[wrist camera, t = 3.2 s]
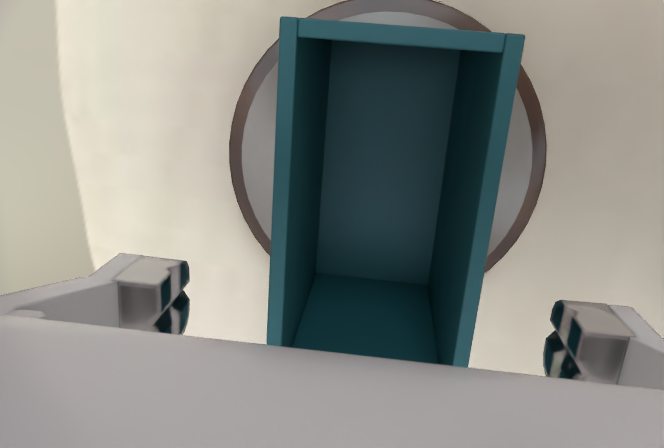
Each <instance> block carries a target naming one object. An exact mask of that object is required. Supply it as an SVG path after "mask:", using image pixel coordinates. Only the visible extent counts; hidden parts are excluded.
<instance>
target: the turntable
mask: <svg viewBox="0 0 664 448" xmlns="http://www.w3.org/2000/svg"><path fill="white" fill-rule="evenodd" d="M307 18H310V19H323V20H336V21H350V22H363V23H376V24H389V25H403V26H416V27H429V28H443V29H456V30H469V31H482V32H491V31H490V30H489V29H488V28H486V27H485V26H483V25H482V24H481V23H479V22H478V21H476V20H475V19H473V18H472V17H470V16H468V15H466V14H464V13H462V12H460V11H458V10H456V9H455V8H453V7H450V6H447V5H444V4H441V3H438V2H435V1H432V0H347V1H343V2H340V3H337V4H334V5H332V6H329V7H327V8H324V9H321V10H319V11H318V12H316V13H314V14H312V15H310V16H309V17H307ZM278 55H279V39H278V40H277V41H276V42H275V43H274V44H273V45H272V46H271V47H270V48H269V49H268V50H267V51H266V53H265V54H264V55H263V57H262V58H261V59H260V60H259V62H258V63H257V64H256V66H255V67H254V69H253V71H252V73H251V74H250V76H249V78H248V80H247V81H246V83H245V85H244V87H243V90H242V92H241V95H240V97H239V100H238V102H237V105H236V109H235V113H234V117H233V121H232V126H231V134H230V142H229V160H230V170H231V177H232V184H233V187H234V191H235V195H236V198H237V202H238V204H239V207H240V209H241V212H242V214H243V216H244V219H245V221H246V222H247V224H248V226H249V228H250V229H251V231H252V233H253V235H254V236H255V238H256V239H257V240H258V242H259V243H260V244H261V246H262V247H263V248H264V250H265V251H266V252H267V253H268V254H269V255H270V250H271V225H272V201H273V177H274V152H275V128H276V104H277V79H278ZM545 167H546V134H545V124H544V120H543V116H542V111H541V107H540V103H539V100H538V98H537V95H536V93H535V90H534V88H533V85H532V83H531V81H530V79H529V78H528V76H527V74H526V72H525V71H524V69H523V67H522V65H521V64H520V69H519V75H518V80H517V86H516V92H515V98H514V103H513V109H512V115H511V121H510V126H509V132H508V138H507V144H506V149H505V155H504V161H503V167H502V173H501V178H500V184H499V190H498V196H497V201H496V207H495V213H494V219H493V224H492V230H491V236H490V242H489V247H488V253H487V259H486V265H485V271H484V273H485V272H487V271H488V270H489V269H490V268H492V267H493V266H494V265H495V264H496V263H497V262H498V261H499V260H500V259H501V258H502V257H503V256H504V255H505V254H506V253H507V252H508V250H509V249H510V248H511V247H512V246H513V244H514V243H515V242H516V241H517V239H518V238H519V236H520V234H521V233H522V231H523V230H524V228H525V227H526V225H527V223H528V221H529V219H530V217H531V215H532V213H533V211H534V208H535V206H536V204H537V200H538V197H539V194H540V191H541V188H542V184H543V178H544V172H545Z"/></svg>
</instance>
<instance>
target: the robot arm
mask: <svg viewBox="0 0 664 448" xmlns="http://www.w3.org/2000/svg"><path fill="white" fill-rule="evenodd" d="M188 282H189V266H188V263H187V261H182V260H173V259H165V258H157V257H149V256H143V255H137V254H126V253H119V254H118V255H117V256H115V257H114V258H113V259H111V260H110V261H109V262H107V263H106V264H105V265H103V266H102V267H101V268H99V269H98V270H97V271H95V272H94V273H93V274H91V275H90V276H89V277H88V278H82V277H79V278H75V279H70V280H66V281H62V282H57V283H53V284H49V285H44V286H40V287H35V288H32V289H27V290H22V291H18V292H14V293H9V294H6V295H1V296H0V448H664V340H663V339H662V338H661V337H660V335H659V334H658V333H657V332H656V331H655V330H654V329H653V328H652V327H651V326H650V325H649V324H648V323H647V322H646V321H645V320H644V319H643V318H642V317H641V316H640V315H639V314H638V313H637V312H636V311H635V310H634V309H633V308H632V307H629V306H619V305H607V304H603V303H591V302H579V301H567V300H559V301H557V302H555V305H554V307H553V309H552V313H551V318H550V321H551V323H552V325H553V327H554V329H555V331H554V332H553V333H552V334H551V335H549V336H548V337H547V338H546V341H545V347H544V352H543V366H544V371H545V374H546V376H537V375H529V374H520V373H511V372H502V371H494V370H485V369H476V368H467V367H458V366H450V365H441V364H432V363H423V362H414V361H406V360H397V359H388V358H379V357H371V356H362V355H353V354H344V353H335V352H327V351H318V350H309V349H300V348H291V347H283V346H274V345H265V344H256V343H247V342H239V341H230V340H221V339H212V338H204V337H195V336H186V335H183V333H184V332H185V328H186V325H187V322H188V317H189V305H190V299H189V298H188V296H187V295H186V294H185V292H184V291H183V289H184V287H185V286H186V285H187V284H188Z"/></svg>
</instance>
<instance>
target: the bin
mask: <svg viewBox="0 0 664 448" xmlns="http://www.w3.org/2000/svg"><path fill="white" fill-rule="evenodd" d="M524 40H525V35H522V34H509V33H508V34H504V33H496V32H482V31H469V30H456V29H443V28H429V27H416V26H403V25H389V24H376V23H363V22H350V21H336V20H323V19H310V18H296V17H283V16H282V17H281V18H280V31H279V55H278V79H277V104H276V128H275V152H274V177H273V201H272V225H271V250H270V274H269V298H268V323H267V345H274V346H283V347H291V348H300V349H309V350H318V351H327V352H335V353H344V354H353V355H362V356H371V357H379V358H388V359H397V360H406V361H414V362H423V363H432V364H441V365H450V366H458V367H467V368H468V363H469V357H470V351H471V345H472V340H473V334H474V328H475V322H476V317H477V311H478V305H479V299H480V294H481V288H482V282H483V276H484V271H485V265H486V259H487V253H488V247H489V242H490V236H491V230H492V224H493V219H494V213H495V207H496V201H497V196H498V190H499V184H500V178H501V173H502V167H503V161H504V155H505V149H506V144H507V138H508V132H509V126H510V121H511V115H512V109H513V103H514V98H515V92H516V86H517V80H518V75H519V69H520V63H521V57H522V51H523V46H524Z"/></svg>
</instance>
